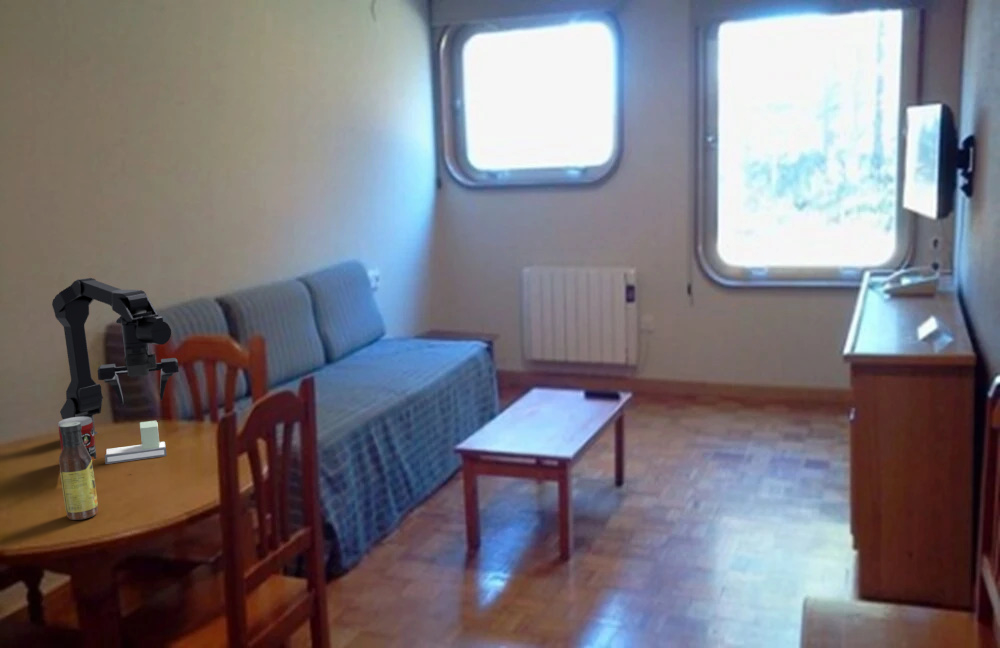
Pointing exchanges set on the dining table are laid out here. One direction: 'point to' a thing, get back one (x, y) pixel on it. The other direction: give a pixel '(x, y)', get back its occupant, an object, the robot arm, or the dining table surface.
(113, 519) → the dining table surface
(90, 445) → the canned food
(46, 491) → the dining table surface
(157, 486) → the dining table surface
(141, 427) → the carton
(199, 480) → the dining table surface
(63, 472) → the sauce bottle
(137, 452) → the shelf
